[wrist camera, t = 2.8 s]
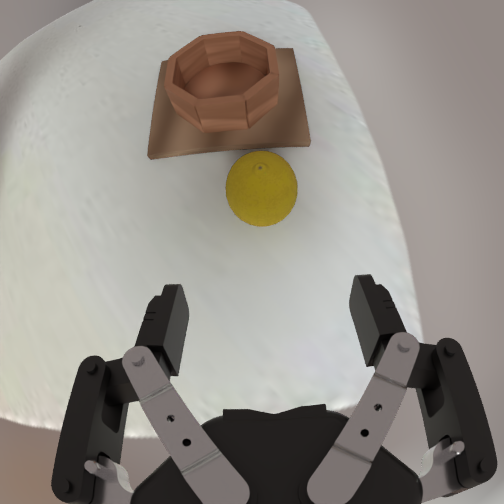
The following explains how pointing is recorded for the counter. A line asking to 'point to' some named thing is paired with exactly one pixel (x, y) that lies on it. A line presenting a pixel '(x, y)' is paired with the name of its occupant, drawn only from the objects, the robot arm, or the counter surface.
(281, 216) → the lemon
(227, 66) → the brown bowl on base
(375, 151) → the counter surface
